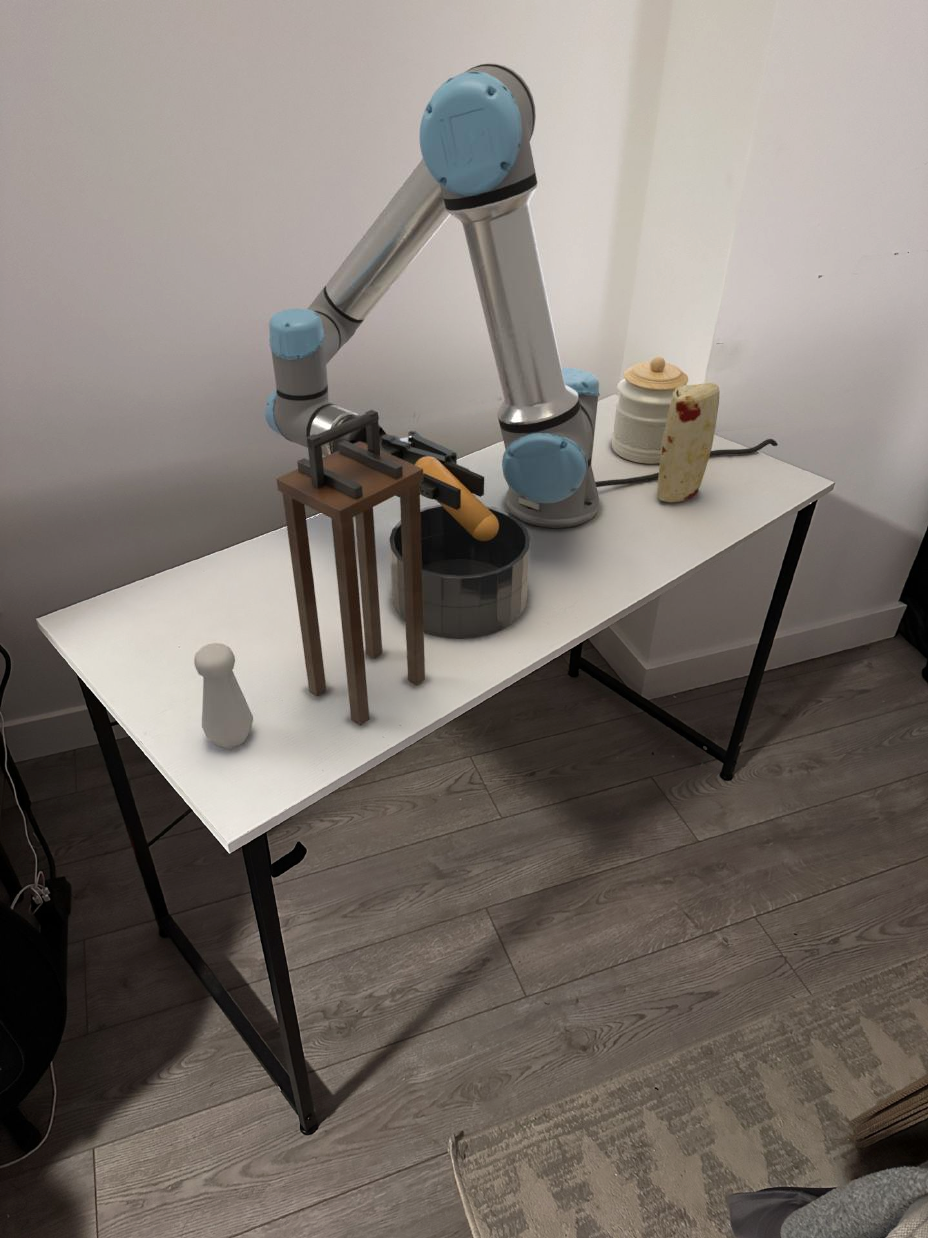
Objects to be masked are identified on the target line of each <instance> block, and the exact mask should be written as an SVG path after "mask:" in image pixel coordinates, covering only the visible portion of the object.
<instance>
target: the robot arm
mask: <svg viewBox="0 0 928 1238" xmlns="http://www.w3.org/2000/svg"><path fill="white" fill-rule="evenodd" d="M536 113H537V112H536V105H535V101H534V97H533V94H532V92H531V89H530V86H529V85H528V84H527V82H526V81H525V80H524V78H523V77H522V76H521V75H520V74H518V73H517V72H516V71H514V70H513V69H512V68H509V67H507V66H505V65H502V64H499V63H489V62H488V63H482V64H478V65H475V66H473V67H470V68H469V69H467V70H466V71H464V72H461V73H459V74H457V75H455V76H453V77H450V78H448V79H447V80H446V81H444V82H443V83H442V84H441V85H440V86H439V87H438V88H437V89H436V91H435V92H434V93H433V94H432V95H431V97H430V99H429V101H428V103H427V105H426V106H425V109H424V111H423V114H422V116H421V120H420V125H419V147H420V152H421V156H422V158H421V159H420V161H418V163H417V165H416V166H415V167H414V168H413V170H412V171H411V172H410V174H409V175H408V176H407V178H405V180H404V182H403V183H401V186H400V187H398V189H397V191H395V194H393V196H392V197H391V198H390V200H389V201H388V202H387V204H386V205H385V207H384V208H383V209H382V210H381V212H380V213H379V214H378V216H377V217H376V218H375V219H374V220H373V223H372V224H371V225H370V226H369V228H368V229H367V230H366V232H365V233H364V234H363V235H362V237H361V238H360V239H359V240H358V242H357V243H356V245H355V246H354V247H353V248H352V250H351V251H350V252H349V254H348V255H347V257H345V259H344V261H343V262H342V263H341V264H340V266H339V267H338V268H337V270H336V271H335V272H334V273H333V275H332V276H331V277H330V279H329V280H328V282H327V283H326V284H325V286H324V287H323V288H322V289H321V290H320V292H319V293H318V294H317V296H316V297H315V298H314V300H313V301H312V302H311V304H310V305H309V306H308V307H306V308H288V309H284V310H282V311H278V312H275V313H274V314H273V315H272V316H271V317H270V319H269V322H268V327H269V340H268V341H269V348H270V350H271V357H272V365H273V373H274V379H275V390H273V391H272V392H271V393H270V394H269V397H268V398H267V401H266V402H267V404H266V407H265V408H264V417H265V421H266V423H267V425H268V426H269V428H270V429H271V430H272V431H273V432H275V433H276V434H277V435H279V436H282V438H284V439H285V440H286V441H289V442H291V443H295V444H298V445H300V446H302V447H304V448H307V449H308V445H307V437H308V436H311V435H313V434H315V435H317V434H319V433H321V432H324V431H326V430H328V429H331V428H333V427H335V426H338V425H340V424H342V423H345V422H347V421H350V420H352V419H354V418H357V417H359V416H361V415H360V414H358V413H357V412H354V411H352V410H349V409H347V408H345V407H342V406H339V405H337V404H334V403H333V402H330V399H329V383H328V371H327V370H328V369H327V364H329V362H330V361H331V360H332V359H333V358H334V356H336V355H337V353H338V352H339V351H340V350H341V349H342V348H343V346H344V345H345V344H347V343H348V342H349V340H350V339H352V337H353V336H354V335H355V334H356V332H357V330H358V329H359V327H360V326H361V325H362V324H363V322H364V321H365V319H366V318H367V317H368V316H369V314H370V313H372V311H373V310H374V309H375V308H376V307H377V305H378V304H379V302H380V301H381V300H382V299H383V298H384V297H385V295H386V294H387V293H388V291H389V290H390V289H391V288H392V287H393V285H394V284H395V283H396V282H397V281H398V279H399V278H400V277H401V276H402V274H403V273H405V271H406V270H407V269H408V267H409V266H410V265H412V263H413V261H414V260H415V259H416V258H417V256H418V255H419V254H420V253H421V252H422V250H423V249H424V248H425V247H426V245H427V244H428V243H429V242H430V241H431V239H432V238H433V237H434V236H435V235H436V234H437V232H439V230H440V229H441V227H442V226H443V225H444V224H445V223H446V221H447V220H448V219H449V218H450V216H453V218H456V219H457V220H458V221H459V222H460V223H461V225H462V228H463V233H464V238H465V241H466V246H467V250H468V253H469V259H470V262H471V266H472V270H473V275H474V280H475V283H476V287H477V291H478V295H479V299H480V304H481V307H482V308H481V309H482V313H483V316H484V320H485V324H486V328H487V333H488V337H489V341H490V345H491V349H492V354H493V358H494V361H495V366H496V370H497V375H498V379H499V382H500V386H501V390H502V395H503V399H504V400H503V401H502V402H501V404H500V406H499V407H498V409H497V411H496V415H497V420H498V423H499V429H500V432H501V437H502V440H503V444H504V445H503V446H504V449H505V451H504V452H503V454H502V459H501V462H502V464H501V466H502V475H503V478H504V481H505V482H506V484H507V485H508V489H507V492H506V506H507V509H508V511H509V512H510V514H511V515H512V516H513V517H514V518H516V519H518V520H519V521H521V522H524V523H526V524H529V525H532V526H536V527H540V528H549V529H562V528H563V529H564V528H565V529H566V528H572V527H577V526H579V525H582V524H585V523H587V522H589V521H590V520H592V519H593V518H594V517H595V516H596V514H597V513H598V509H599V501H600V496H599V491H598V488H602V487H608V486H610V487H611V486H620V485H631V484H636V483H642V482H649V481H653V480H658V477H659V471H657V472H656V473H655V472H654V473H652V474H651V473H650V474H647V475H641V476H635V477H630V478H629V477H628V478H619V479H617V478H616V479H607V480H599V481H598V480H597V481H596V479H595V476H594V472H593V471H594V470H593V468H592V467H593V466H592V462H593V461H592V460H593V451H594V442H595V432H596V424H597V423H596V421H597V413H598V402H599V398H600V396H601V393H600V381H599V378H598V377H596V375H594V374H593V373H591V372H589V371H587V370H583V369H579V368H574V367H564V366H562V363H561V358H560V354H559V348H558V343H557V342H558V341H557V338H556V333H555V327H554V322H553V318H552V313H551V308H550V304H549V298H548V293H547V289H546V288H547V287H546V283H545V279H544V273H543V272H544V271H543V269H542V263H541V258H540V253H539V248H538V242H537V237H536V233H535V227H534V223H533V217H532V212H531V208H530V202H531V199H532V197H533V195H534V194H535V192H536V190H537V188H538V187H539V184H538V179H537V174H536V167H535V163H534V157H533V152H532V146H531V140H532V137H533V136H534V131H535V127H536V118H537V115H536ZM407 434H408V436H407V437H406V436H405V437H399V436H398V435H396V434H395V435H394V434H388V433H387V432H386V431H385V430H384V429H383V427H382V426H381V424H379V441H380V450H381V451H383V452H386V453H388V454H390V455H392V456H395V457H397V458H399V459H402V460H404V461H406V462H408V463H411V464H413V465H415V463H416V462H417V461H418V460H419V459H420V458H422V457H426V456H430V457H434V458H436V459H437V460H438V461H439V462H440V463H441V464H442V465H443V466H444V467H445V468H446V469H448V470H449V471H450V472H451V473H452V474H453V475H454V476H455V477H456V478H457V479H458V480H459V481H460V482H461V483H462V484H463V485H464V486H465V487H466V488H467V489H468V490H469V491H470V492H471V493H472V494H473V495H474V496H476V497H480V498H482V497H483V496H484V495H485V476H483V475H481V474H479V473H476V472H474V471H472V470H470V469H469V468H467V467H464V466H462V465H460V464H458V453H457V451H454V450H452V449H449V448H447V447H445V446H443V445H441V444H439V443H437V442H434V441H432V440H430V439H427V438H425V437H423V436H421V434H419V433H418V432H417V431H415V430H410V431H408V433H407ZM344 440H345V441H347V442H350V443H352V444H354V443H357V442H359V441H360V442H363V443H365V444H367V432H366V426H365V427H363V428H361V429H359V430H356V431H354V432H352V433H349V434H347V435H345V436H343V437H340V438H338V439H336V440H334V441H331V442H329V443H327V444H324V445H322V446H321V448H322V456H324V457H326V456H328V455H330V454H332V453H334V452H337V451H339V445H338V443H340V442H342V441H344ZM768 445H771V446H772V447H777V446H779V444H778V442H777V441H776V440H775V439H774V438H767V439H765V440H763V441H762V442H760V443H759V444H757V445H755V446H753V447H747V448H738V449H737V448H735V449H731V448H730V449H728V448H727V449H726V448H725V449H716V450H715V449H714V450H711V453H710V456H709V457H714V456H724V455H725V456H726V455H730V456H731V455H748V454H753V453H756V452H759V451H760V450H763V448H765V447H766V446H768ZM420 496H422V497H424V498H427V499H429V500H435V501H436V502H437V501H438V502H441V503H443V504H445V505H447V506H449V507H451V508H454V509H456V510H458V509H460V508H461V489H458V488H456V487H454V486H452V485H449V484H447V483H445V482H443V481H441V480H438V479H436V478H434V477H432V476H429V475H427V474H425V473H424V474H423V481H422V482H420ZM394 497H397V498H400V493H399V494H397V495H395V496H394ZM438 502H437V503H438Z"/></svg>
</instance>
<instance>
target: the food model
mask: <svg viewBox="0 0 928 1238" xmlns="http://www.w3.org/2000/svg"><path fill="white" fill-rule="evenodd" d="M719 405H720V387H719V385H717V384H716V383H714V382H703V383H698V384H685V385H680V386H678V387H677V388H676V389H675V390H674V392H673V395H672V400H671V404H670V409H669V414H668V418H667V423H666V427H665V431H664V435H663V440H662V448H661V458H660V463H659V468H658V472H659V477H658V478H657V498H658V500H659V501H662V502H666V503H678V502H684V501H687V500H690V499H692V498H694V497H696V496H697V494H698V493H699V489H700V487H701V484H702V482H703V479H704V475H705V472H706V469H707V466H708V462H709V461H710V460H709V459H710V457H711V456H710V453H711V451H712V449H713V443H714V438H715V432H716V428H717V421H718V420H717V419H718V414H719V413H718V412H719Z"/></svg>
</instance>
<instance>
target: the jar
mask: <svg viewBox="0 0 928 1238" xmlns="http://www.w3.org/2000/svg"><path fill="white" fill-rule="evenodd" d="M688 382H689V376H688V375H687V374H686V373H685V372H684V371H683V370H682V369H680V367H678V366H676V365H675V364H672V363H670V362H666V360H665V359H664V357H662V356H654V357H653V358H652V359H651V360H649V361H648V360H647V361H642V362H638V363H636V364H634V365H633V366H631V367H628V368H627V369H626V370H625V371H624V373H623V379H622V380H620V381H619V382H618V384H617V391H618V393H619V397H618V398H617V400H616V401H615V412H614V413H615V415H614V423H613V429H612V430H613V431H612V432H611V447H612V450H613V451H614V453H615V454H616V455H618V456H620V457H621V458H623V459H625V460H628V461H631V462H633V463H634V462H635V463H640V464H651V465H652V464H660V458H661V448H662V440H663V435H664V431H665V427H666V423H667V418H668V414H669V409H670V404H671V400H672V395H673V392H674V390H675V389H676V388H677V387H678V386H680V385H685V384H686V385H688Z"/></svg>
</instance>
